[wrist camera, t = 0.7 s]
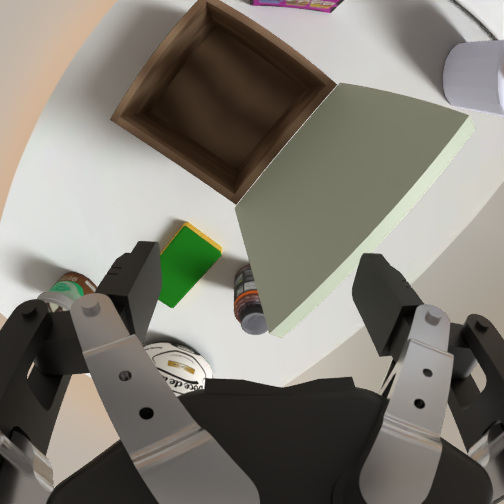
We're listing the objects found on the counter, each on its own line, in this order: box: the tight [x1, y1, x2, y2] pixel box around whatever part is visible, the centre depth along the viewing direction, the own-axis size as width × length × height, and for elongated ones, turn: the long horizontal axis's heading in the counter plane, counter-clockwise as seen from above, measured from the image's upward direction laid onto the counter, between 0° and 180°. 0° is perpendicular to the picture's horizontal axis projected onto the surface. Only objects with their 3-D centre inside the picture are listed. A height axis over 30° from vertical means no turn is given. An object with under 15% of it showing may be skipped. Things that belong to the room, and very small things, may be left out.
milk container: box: [144, 342, 213, 396], centre depth 51 cm, size 17×17×18 cm
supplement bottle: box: [234, 265, 268, 335], centre depth 44 cm, size 6×6×11 cm
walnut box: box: [110, 0, 337, 204], centre depth 30 cm, size 16×16×12 cm
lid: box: [235, 83, 476, 338], centre depth 21 cm, size 17×17×1 cm
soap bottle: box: [443, 40, 504, 117], centre depth 24 cm, size 13×8×20 cm, turn 158°
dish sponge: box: [158, 222, 222, 308], centre depth 47 cm, size 7×14×2 cm, turn 139°
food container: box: [37, 272, 97, 312], centre depth 44 cm, size 12×6×10 cm, turn 105°
